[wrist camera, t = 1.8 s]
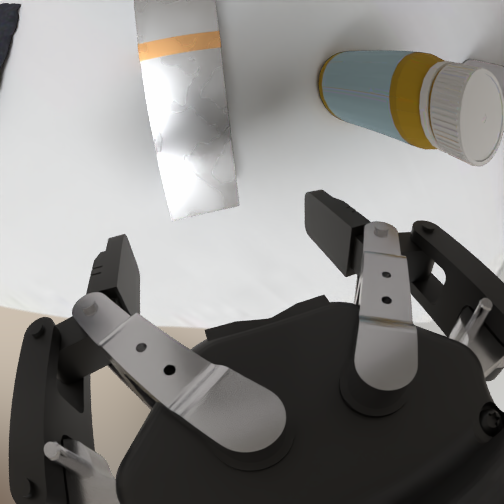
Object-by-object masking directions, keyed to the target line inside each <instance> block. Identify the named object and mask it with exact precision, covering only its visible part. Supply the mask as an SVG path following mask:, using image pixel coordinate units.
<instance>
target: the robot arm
mask: <svg viewBox="0 0 504 504" xmlns="http://www.w3.org/2000/svg"><path fill="white" fill-rule="evenodd" d="M464 64H468V65H473V66H478V67H482V68H485V69H487V70H489V71H490V72H491V73H492V74H493V75H494V76H495V77H496V79H497V80H498V82H499V85H500V87H501V90H502V93H503V98H504V66H500V65H496V64H492V63H487V62H482V61H477V60H470V59H469V60H467V61H466V62H465V63H464ZM503 132H504V130H503ZM305 228H306V231H307V234H308V235H309V237H310V238H311V239H312V240H313V241H314V242H315V243H316V244H317V245H318V247H319V248H320V249H321V250H322V251H323V252H324V253H325V254H326V255H327V257H328V258H329V259H330V260H331V261H332V262H333V263H334V264H335V266H336V267H337V268H338V269H339V270H340V271H341V272H342V274H343V275H344V276H345V277H348V276H351V275H354V274H357V281H356V289H355V297H354V304H353V303H347V302H329V301H328V299H327V298H326V297H325V295H322V296H318V297H315V298H312V299H309V300H306V301H303V302H300V303H297V304H295V305H293V306H292V307H290V308H288V309H286V310H285V311H283V312H281V313H279V314H277V315H276V316H274V317H272V318H269V319H260V320H249V321H237V322H232V323H229V324H225V325H221V326H218V327H214V328H210V329H206V330H205V333H206V337H207V339H206V340H204V341H203V342H201V343H199V344H198V345H196V346H195V347H193V348H192V349H191V350H190V349H188V348H187V347H185V346H184V345H182V344H181V343H179V342H178V341H176V340H175V339H173V338H172V337H170V336H169V335H168V334H166V333H164V332H163V331H162V330H161V329H159V328H158V327H156V326H155V325H154V324H152V323H151V322H149V321H148V320H147V319H145V318H144V317H143V316H141V315H140V274H139V269H138V266H137V263H136V260H135V257H134V255H133V252H132V249H131V246H130V244H129V241H128V238H127V236H126V235H125V234H123V235H119V236H116V237H112V238H109V239H108V243H107V247H106V251H104V252H100V254H99V255H98V256H97V258H96V259H95V260H94V264H93V267H92V269H93V270H92V272H91V276H90V280H89V284H88V289H87V293H86V295H85V296H83V297H82V298H80V299H79V300H78V301H77V302H76V304H75V305H74V307H73V310H72V315H73V316H72V317H70V318H69V319H67V320H65V321H63V322H61V323H59V324H57V325H55V323H54V322H53V321H52V319H51V318H48V317H42V318H39V319H38V320H36V321H34V322H33V323H32V324H31V325H30V326H29V327H28V328H27V330H26V332H25V335H24V339H23V343H22V347H21V352H20V357H19V362H18V367H17V373H16V379H15V385H14V392H13V399H12V408H11V419H10V433H9V482H10V491H11V494H12V497H13V499H14V501H15V502H16V504H504V412H502V411H501V410H500V409H499V408H498V407H497V406H496V404H495V403H494V401H493V399H492V397H491V395H490V392H489V390H488V387H487V384H486V381H491V380H493V379H495V378H496V376H497V375H498V374H499V373H500V372H501V370H502V369H503V368H504V283H503V282H502V281H501V280H500V279H499V278H498V277H497V276H496V275H495V274H494V273H493V272H492V271H491V270H490V269H488V268H487V267H486V266H485V265H484V264H483V263H482V262H481V261H480V260H478V259H477V258H476V257H475V256H474V255H473V254H472V253H470V252H469V251H468V250H467V249H466V248H465V247H463V246H462V245H461V244H460V243H459V242H457V241H456V240H455V239H454V238H452V237H451V236H450V235H449V234H447V233H446V232H445V231H444V230H442V229H441V228H440V227H439V226H437V225H436V224H434V223H431V222H428V221H416V222H414V223H413V226H412V231H411V232H404V233H398V231H397V229H396V228H395V227H394V226H392V225H390V224H388V223H385V222H378V221H376V222H370V221H369V220H368V219H366V218H365V217H364V216H362V215H361V214H360V213H358V212H356V210H355V209H353V208H352V207H350V206H349V205H348V204H347V203H345V202H344V201H341V200H339V199H336V198H333V197H332V196H330V195H329V194H328V193H326V192H325V191H324V190H317V191H311V192H307V193H306V194H305ZM434 262H436V263H437V264H438V265H439V266H440V267H441V268H442V269H443V270H444V272H445V275H446V281H445V284H444V285H443V284H442V283H441V282H440V281H439V280H438V279H437V278H436V277H435V276H434V275H433V274H432V273H431V271H432V268H433V265H434ZM411 294H412V295H413V297H414V298H415V299H416V300H417V301H418V302H419V303H420V305H421V306H422V307H423V308H424V309H425V311H426V312H427V313H428V314H429V315H430V316H431V318H432V319H433V320H434V321H435V322H436V324H437V325H438V326H439V327H440V328H441V330H442V331H443V332H444V334H445V335H446V336H447V337H445V336H442V335H440V334H437V333H434V332H431V331H429V330H426V329H423V328H420V327H418V326H415V325H414V324H413V321H412V305H411ZM105 366H108V367H109V368H110V369H111V370H112V371H113V372H114V373H115V374H116V375H117V376H118V377H119V378H120V379H121V380H122V381H123V382H124V383H125V384H126V385H127V386H128V387H129V388H130V389H131V390H132V391H133V392H134V393H135V394H136V395H137V396H138V397H139V398H140V399H141V400H142V401H143V402H144V403H145V404H146V405H147V406H148V407H149V408H150V409H151V412H150V413H149V415H148V417H147V419H146V420H145V422H144V424H143V425H142V427H141V429H140V431H139V432H138V434H137V436H136V438H135V439H134V441H133V443H132V444H131V446H130V448H129V450H128V452H127V453H126V455H125V457H124V458H123V460H122V462H121V464H120V466H119V468H118V471H117V475H116V479H115V478H114V477H113V475H112V473H111V471H110V468H109V465H108V463H107V461H106V460H105V459H104V458H103V457H102V456H101V455H99V454H98V453H96V452H95V449H94V439H93V428H92V414H91V395H90V394H91V393H90V374H91V373H93V372H95V371H97V370H99V369H101V368H103V367H105Z"/></svg>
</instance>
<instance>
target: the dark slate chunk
mask: <svg viewBox="0 0 504 504" xmlns="http://www.w3.org/2000/svg"><path fill="white" fill-rule="evenodd" d="M19 7H20V4H8V3H3V4H0V68H1V66H2V64H3V62H4V60H5V58H6V55H7V52H8V47H9V45H10V42H11V37H12V35H13V33H14V31H15V29H16V27H17V20H18V13H17V10H18V8H19Z"/></svg>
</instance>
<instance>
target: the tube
mask: <svg viewBox="0 0 504 504" xmlns="http://www.w3.org/2000/svg"><path fill="white" fill-rule="evenodd" d="M134 10H135V20H136V30H137V39H138V51H139V59H140V62H141V69H142V76H143V83H144V89H145V95H146V101H147V107H148V113H149V118H150V124H151V129H152V134H153V139H154V144H155V149H156V154H157V159H158V164H159V168H160V173H161V177H162V182H163V186H164V190H165V195H166V199H167V203H168V207H169V211H170V215H171V219H172V221H176V220H180V219H184V218H188V217H192V216H196V215H201V214H205V213H209V212H214V211H218V210H223V209H227V208H232V207H236V206H239V198H238V190H237V182H236V174H235V165H234V157H233V149H232V141H231V132H230V124H229V116H228V107H227V99H226V90H225V82H224V73H223V64H222V56H221V42H220V33H219V29H218V20H217V11H216V2H215V0H134Z"/></svg>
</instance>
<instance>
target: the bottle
mask: <svg viewBox="0 0 504 504" xmlns="http://www.w3.org/2000/svg"><path fill="white" fill-rule="evenodd" d="M319 92H320V96H321V99H322V101H323V103H324V105H325V107H326V108H327V109H328V111H329V112H330V113H331V114H332V115H333V116H335V117H337V118H338V119H340V120H343V121H345V122H348V123H352V124H355V125H358V126H361V127H364V128H367V129H370V130H373V131H376V132H379V133H381V134H384V135H387V136H390V137H392V138H395V139H397V140H400V141H403V142H405V143H408V144H410V145H413V146H416V147H419V148H422V149H439V150H441V151H443V152H445V153H448V154H449V155H451V156H453V157H455V158H458V159H460V160H462V161H464V162H466V163H468V164H470V165H472V166H483V165H485V164H487V163H488V162H489V161H490V160H491V159H492V158H493V156H494V155H495V153H496V151H497V149H498V147H499V145H500V142H501V139H502V135H503V130H504V98H503V93H502V90H501V87H500V85H499V82H498V80H497V79H496V77H495V76H494V75H493V74H492V73H491V72H490V71H489V70H487V69H485V68H482V67H478V66H473V65H468V64H463V63H454V62H449V61H444V60H442V59H440V58H438V57H437V56H435V55H432V54H428V53H422V52H410V51H347V52H341V53H338V54H336V55H333V56H332V57H331V58H329V59H328V60H327V61H326V62H325V64H324V66H323V68H322V70H321V72H320V76H319Z"/></svg>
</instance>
